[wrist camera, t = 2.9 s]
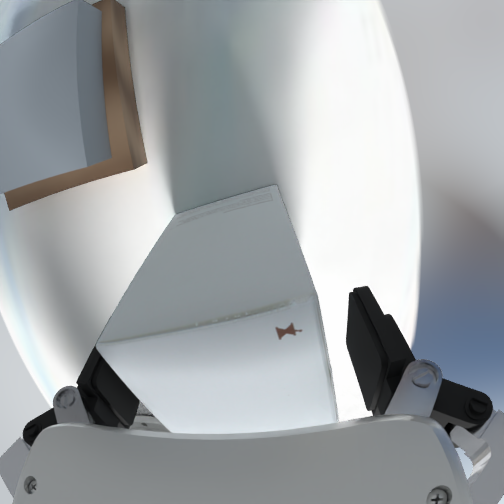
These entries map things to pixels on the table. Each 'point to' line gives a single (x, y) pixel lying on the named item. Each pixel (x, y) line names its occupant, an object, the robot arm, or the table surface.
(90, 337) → the table surface
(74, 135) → the slate grey slab
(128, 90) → the walnut base slab
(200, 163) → the table surface
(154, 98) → the table surface
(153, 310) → the supplement box
